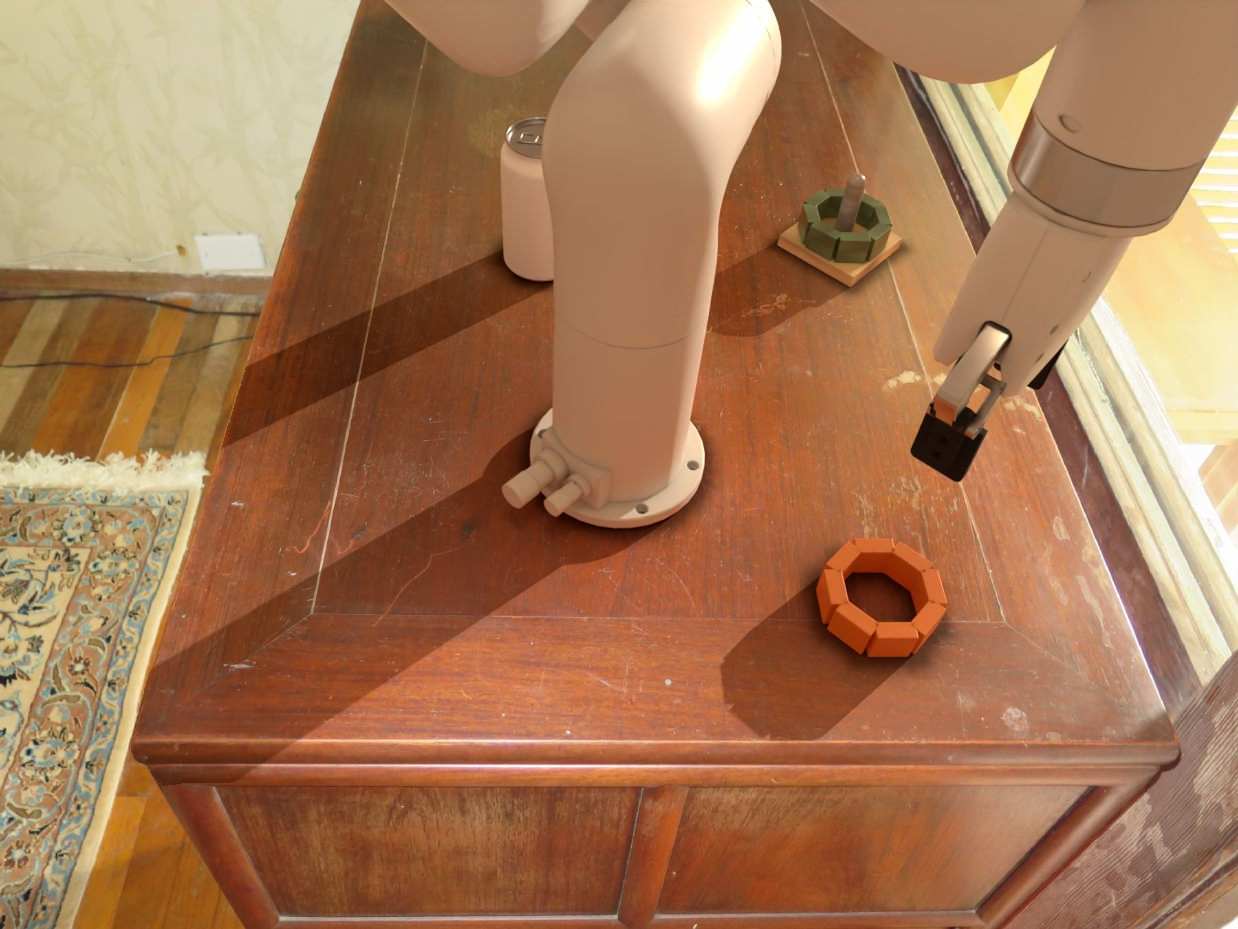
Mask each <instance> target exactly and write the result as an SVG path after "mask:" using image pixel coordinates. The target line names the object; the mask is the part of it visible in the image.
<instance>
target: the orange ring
mask: <svg viewBox="0 0 1238 929" xmlns="http://www.w3.org/2000/svg"><path fill="white" fill-rule="evenodd" d="M933 566H934V563H933V562H931V561H930V560H928V559H927V558H926V557H924V556H922V555H921V554H919V553H918V552H916V551H915V550H914V549H912V548H911V547H910V546H908V545H906V544H905V543H904V542H902V541H901V540H898V541H897V542H896V543H894V540H893V538H887V537H886V538H885V537H884V538H879V537H878V538H872V537H871V538H869V537H868V538H867V537H866V538H865V537H864V538H860V537H859V538H853V539H852V542H851V541H849V540H847V541H845V543H844V544H843V545H842V546H841V547H840V548H839V549H838V550H837V551H836V552H835V553H834V554H833V555H832V556H831V557H830V558H829V559H828V560H827V562H826V563H825V564H824V566H823V569H822V572H821V573H820V577H819V579H818V582H817V585H816V588H815V592H816V597H817V602H818V606H819V612H820V618H821V622H822V624H823V625H824V624H827V627H826V630H827V631H828V632H829V633H830V634H832V635H834V636H835V637H836V638H838V639H839V640H840V641H842V642H843V643H844V644H845V645H847V646H848V647H850V648H851V649H852V650H854V652H856V653H858V654H859V655H862V654H863V653H864V652H865V651H866V655H867V657H868V658H908V657H909V656H910V654H912V655H915V654H916V653H917V652H918V651H919V650H920V648H921V647H922V646H923V645H924V644H925V643H926V641H927V640H928V638H929V637H930V636H931V635H932V634H933V633H934V632H935V630H936V629H937V627H938V626H939V624H940V623H941V620H942V619H943V617H944V616H945V614H946V612H947V609H946V607H947V606H948V604H949V603H948V600H947V597H946V593H945V590H944V586H943V582H942V580H941V577H940V573H939V570H938V568H937V569H936V568H935V569H934V568H933V569H932V567H933ZM852 573H857V574H858V573H883V574H885V575H886V576H887V577H888V578H890V579H891V580H893V581H895V583H897V584H899V585H900V586H902V587H903V588H904V589H906V590H907V591H908V592H910V595H911V599H912V602H913V606H914V610H915V614H916V615H915V616H914V617H913V618H912V620H911V621H884V622H883V621H881V622H878V621H876V620H875V619H874V618H872V617H870V615H868V614H867V613H865V612H864V611H863V610H861V609H860V608H859V607H857V606H856V605H854V604H853V603H851V602H850V601H849V596H848V592H847V588H846V583H845V581H846V580H847V579H848V577H849V576H850V575H851V574H852Z"/></svg>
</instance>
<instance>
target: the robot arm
mask: <svg viewBox="0 0 1238 929" xmlns="http://www.w3.org/2000/svg"><path fill="white" fill-rule="evenodd" d="M383 1H384V2H385V3H386V4H387V5H389V7H391V8H392V9H393V10H394V12H396V13H397V14H398V15H400V16H401V17H402V18H403V20H405V21H406V22H407V23H408V24H409V25H411V27H413V28H414V29H415V30H416V31H417V32H418V33H419V34H421V35H422V36H423V37H424V38H425V39H426V41H428V42H430V43H431V44H432V45H433V46H434V47H435V48H436V49H437V50H439V51H440V52H441V53H442V54H444V55H445V56H446V57H447V58H449V59H451V61H453V62H454V63H455V64H457V65H458V66H460V67H462V68H463V69H466V70H467V71H469V72H471V73H473V74H476V75H480V76H483V77H484V76H485V77H491V78H494V77H495V78H496V77H507V76H511V75H513V74H515V73H518V72H520V71H523V70H525V69H527V68H528V67H530V66H532V65H533V64H534V63H535V62H537V61H538V60H540V59H541V58H542V56H544V55H545V54H546V53H547V52H549V50H550V49H551V48H552V47H553V46H554V45H555V44H556V43H557V42H558V41H559V40H561V38H562V37H563V36H564V35H565V34H566V33H567V32H568V31H569V29H570V28H571V27H572V26H575V27H576V28H577V29H578V30H580V32H582V34H584V35H585V36H586V37H587V38H588V39H589V40H590V41H591V42H592V44H591V45H590V46H589V47H588V49H587V50H586V51H585V53H583V55H582V56H581V57H580V58H579V59H578V61H577V62H576V64H575V65H574V66H573V68H572V69H571V70H570V72H569V73H568V75H567V76H566V77H565V79H564V81H563V82H562V84H561V86H560V87H559V89H558V91H557V93H556V95H555V97H554V99H553V101H552V103H551V106H550V108H549V111H548V113H547V116H546V118H547V120H546V123H545V127H544V132H543V138H542V148H541V156H542V170H543V176H544V182H545V187H546V192H547V197H548V202H549V207H550V214H551V220H552V230H553V250H554V280H553V284H552V285H553V286H552V288H553V293H552V294H553V343H552V344H553V345H552V346H553V347H552V348H553V349H552V352H553V353H552V406H551V407H550V408H549V409H548V411H546V413H545V414H544V415H543V416H542V417H541V418H540V419H539V421H538V422H537V424H536V426H535V428H534V430H533V431H532V432H533V433H532V436H531V439H530V445H529V463H530V466H529V467H528V468H526V469H524V470H521V471H520V472H519V473H518V474H516V475H515V476H514V477H513V478H510V479H509V480H508V481H507V482H505V483H504V484H503V485H502V486H501V492H502V495H503V497H504V498H505V500H506V502H508V504H510V505H511V506H512V507H513V508H515V509H522V508H523V507H524V506H525V505H527V504H528V503H529V502H531V501H532V500H533V499H534V498H536V497H537V496H538V495H540V493H542V495H543V496H544V497H545V499H544V500H543V506H544V508H545V510H546V511H547V512H548V513H549V514H550V515H551V516H553V517H556V518H557V517H559V516H560V515H561V514H563V513H564V514H566V515H567V516H570V517H572V518H574V519H576V520H578V521H580V522H584V523H587V524H589V525H594V526H596V527H604V528H611V529H633V528H638V527H645V526H649V525H653V524H655V523H658V522H661V521H663V520H665V519H667V518H669V517H671V516H672V515H674V514H676V513H677V512H679V511H680V510H681V509H683V507H684V506H686V505H688V503H689V502H690V501H691V499H692V498H693V496H694V495H695V494H696V492H697V491H698V488H699V486H700V485H701V484H700V483H701V482H702V478H703V474H704V469H705V459H706V458H705V456H706V455H705V454H706V453H705V448H704V442H703V440H702V436H700V433H699V431H698V428H696V426H695V424H694V423H693V422H692V421H691V416H692V411H693V405H694V401H695V395H696V389H697V383H698V377H699V372H700V367H701V360H702V356H703V351H704V350H703V349H704V343H705V339H706V333H707V329H708V328H707V327H708V321H709V314H710V309H711V301H712V295H713V289H714V285H715V284H714V283H715V278H716V271H717V270H716V269H717V262H718V252H719V251H718V250H719V248H718V247H719V222H720V214H721V208H722V204H723V199H724V196H725V192H726V189H727V186H728V182H729V179H730V176H731V174H732V171H733V169H734V167H735V164H736V162H737V160H738V158H739V157H740V155H741V152H742V150H743V149H744V147H745V145H746V143H747V141H748V140H749V138H750V135H751V134H752V130H753V128H754V126H755V124H756V122H757V120H758V118H759V117H760V115H761V113H762V111H763V109H764V107H765V105H766V104H767V102H768V101H769V99H770V96H771V94H772V92H773V89H774V87H775V85H776V82H777V79H778V75H779V73H780V68H781V62H782V47H783V46H782V36H781V32H780V27H779V23H778V19H777V17H776V15H775V12H774V10H773V7H772V5H771V4H770V2H769V0H383ZM809 2H811V3H812V4H813V5H814V6H816V8H818V9H820V10H821V11H822V12H824V13H825V14H826V15H827V16H829V17H830V18H831V19H832V20H834V21H835V22H836V23H838V24H839V25H840V26H842V27H843V28H844V29H846V30H847V31H848V32H849V33H851V34H852V35H854V36H855V37H856V38H858V39H859V40H860V41H862V42H863V43H864V44H865V45H867V46H868V47H869V48H871V49H873V50H874V51H876V52H877V53H879V54H880V55H882V56H883V57H885V58H887V59H888V60H890V61H891V62H893V63H895V64H897V65H898V66H900V67H902V68H904V69H906V70H909V71H910V72H913V73H915V74H918V75H920V76H922V77H925V78H928V79H931V80H936V81H938V82H943V83H948V84H954V85H956V84H957V85H978V84H984V83H992V82H997V81H1000V80H1003V79H1005V78H1008V77H1011V76H1015V75H1017V74H1018V73H1020V72H1022V71H1024V70H1025V69H1027V68H1030V67H1031V66H1033V65H1034V64H1035V63H1037V62H1038V61H1040V60H1041V59H1042V58H1043V57H1044V56H1046V55H1047V54H1048V53H1049V52H1050V51H1052V50H1053V49H1054V50H1053V52H1052V56H1051V57H1050V60H1049V63H1048V65H1047V68H1046V70H1045V73H1044V74H1043V78H1042V80H1041V83H1040V85H1039V88H1038V90H1037V93H1036V96H1035V98H1034V100H1033V102H1032V104H1031V107H1030V109H1029V112H1028V114H1027V116H1026V119H1025V122H1024V124H1023V127H1022V128H1021V131H1020V134H1019V137H1018V138H1017V141H1016V144H1015V146H1014V149H1013V151H1012V155H1011V157H1010V159H1009V162H1008V165H1007V168H1006V169H1007V170H1006V176H1007V180H1008V183H1009V185H1010V186H1011V188H1012V192H1011V193H1010V195H1009V197H1008V198H1007V200H1006V202H1005V203H1004V204H1003V207H1002V208H1001V209H1000V211H999V213H998V215H997V217H996V218H995V220H994V222H993V223H992V225H991V227H990V229H989V230H988V231H989V232H988V233H987V234H986V236H985V238H984V240H983V242H982V244H981V245H980V248H979V250H978V252H977V254H976V256H975V258H974V260H973V262H972V264H971V266H970V268H969V270H968V272H967V274H966V277H965V279H964V280H963V283H962V285H961V287H960V289H959V291H958V293H957V296H956V297H955V300H954V302H953V303H952V304H953V305H952V307H951V309H950V311H949V313H948V314H947V317H946V319H945V322H944V324H943V326H942V328H941V331H940V332H939V335H938V337H937V340H936V341H935V343H934V346H933V349H932V354H933V355H932V356H933V358H934V361H935V362H937V363H941V364H942V365H944V366H945V367H946V368H947V367H949V366H951V365H952V364H953V363H954V365H953V366H952V368H951V369H950V371H949V372H948V374H947V376H946V377H945V379H944V381H943V382H942V383H941V386H939V388H938V390H937V391H936V393H935V395H934V397H933V398H932V399H931V401H930V403H929V404H928V406H927V409H926V411H925V414H924V416H923V419H922V421H921V423H920V426H919V427H918V430H917V432H916V434H915V437H914V440H913V442H912V445H911V447H910V449H909V450H910V451H909V452H910V454H911V456H912V457H913V458H915V459H916V460H918V461H920V462H922V463H923V464H924V465H926V466H928V467H930V468H931V469H933V470H935V471H936V472H938V473H939V474H941V475H942V476H944V477H946V478H947V479H949V480H951V481H952V482H955V483H960V482H962V480H963V479H964V478H965V477H966V476H967V474H968V472H969V470H970V468H971V466H972V464H973V462H974V460H975V458H976V456H977V454H978V452H979V450H980V448H981V447H982V444H983V442H984V440H985V438H986V436H987V434H988V432H989V430H988V429H986V428H985V427H984V426H985V425H986V424H987V422H988V420H989V419H990V417H991V416H992V414H993V413H994V412H995V409H996V408H997V406H999V404H1000V402H1001V400H1002V399H1005V398H1011V397H1015V396H1016V397H1017V396H1018V395H1020V394H1021V393H1022V392H1023V391H1024V390H1025V389H1026V387H1028V388H1030V389H1031V390H1035V391H1036V390H1037V391H1038V390H1041V389H1042V388H1043V386H1045V384H1046V383H1047V381H1048V379H1049V378H1050V375H1051V373H1052V371H1053V370H1054V368H1055V366H1056V364H1057V362H1058V361H1059V358H1060V357H1061V355H1062V353H1063V351H1064V350H1065V348H1066V346H1067V344H1068V342H1069V340H1070V338H1071V336H1073V334H1074V333H1075V332H1076V331H1077V329H1078V328H1079V327H1080V326H1081V325H1082V323H1083V322H1084V321H1085V319H1086V318H1087V317H1088V315H1089V314H1090V312H1091V311H1092V309H1093V308H1094V306H1095V305H1096V303H1097V302H1098V300H1099V299H1100V297H1101V295H1102V294H1103V292H1104V291H1105V289H1106V287H1107V285H1108V284H1109V282H1110V281H1111V279H1112V277H1113V275H1114V274H1115V272H1116V271H1117V268H1118V267H1119V265H1120V263H1121V262H1122V259H1123V258H1124V255H1125V254H1126V252H1127V250H1128V249H1129V246H1130V244H1131V243H1132V241H1133V239H1134V238H1137V237H1144V236H1148V235H1150V234H1153V233H1157V232H1159V231H1161V230H1163V229H1164V228H1166V227H1167V226H1168V225H1169V224H1170V223H1171V222H1172V220H1173V219H1174V217H1175V215H1176V214H1177V212H1178V211H1179V208H1180V207H1181V206H1182V204H1183V202H1184V200H1185V198H1186V196H1187V194H1188V193H1189V191H1190V189H1191V188H1192V186H1193V184H1194V182H1195V180H1196V179H1197V177H1198V175H1199V173H1200V172H1201V170H1202V168H1203V166H1204V165H1205V163H1206V161H1207V160H1208V158H1209V156H1210V154H1211V153H1212V152H1213V149H1214V147H1215V146H1216V144H1217V142H1218V140H1219V139H1220V137H1221V135H1222V134H1223V132H1224V130H1225V128H1226V127H1227V125H1228V123H1229V121H1230V120H1231V118H1232V116H1233V114H1234V112H1235V111H1236V109H1237V107H1238V0H809ZM992 368H994V369H995V370H997V371H998V372H1000V380H999V379H998V378H995V376H992V375H990V374H989V372H990V371H991V369H992ZM980 385H981V386H983V387H984V388H986V389H988V390H990V391H989V392H988V394H987V395H986V397H985V398H984V400H983V401H982V404H980V406H979V407H978V409H977V410H976V412H975V411H974V410H973V409H972V408H971V407H969V406H968V405H969V403H970V400H971V398H972V396H973V394H974V393H975V391H976V390H977V388H978V387H979V386H980Z"/></svg>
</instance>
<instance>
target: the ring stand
mask: <svg viewBox="0 0 1238 929" xmlns="http://www.w3.org/2000/svg"><path fill="white" fill-rule="evenodd" d="M866 186H867V178H866V177H865V175H864V174H862V173H861V172H854V173H852V174H851V175H850V176H848V179H847V181H846V184H845V187H844V188H837V187H836V188H835V187H834V188H833V187H831V188H830V187H825V188H824V190H823V189H820V190H818V191H816V192H815V193H813V194H812V195H810V196H809V197H808V198H807V199H805V200H804V201H803V204H802V206H801V211H800V215H799V219H798V221H796V222H795V223H794V224H792V225H791V226H790V227H788V228H787V229H786V230H784V231H783V232H782V233H780V234H779V237H778V240H777V244H776V245H777V246H778V247H780V248H781V249H783V250H785V251H786V252H788V253H790V254H791V255H793V256H795V257H797V258H798V259H800V260H802V261H803V262H805V263H807V264H808V265H810V266H812V267H814V268H816V269H818V271H821V272H823V273H824V274H826V275H828V276H830V277H831V278H833V279H835V280H837V281H838V282H840V283H842V284H843V285H845V286H847V287H849V288H851V287H853V286H854V285H855V284H857V282H859V281H860V280H861V279H862V278H864V277H865V276H866V275H867V274H869V273H871V271H872V270H874V269H875V268H876V267H877V266H879V265H880V264H881V263H883V261H885V260H886V259H887V258H889V257H890V256H891V255H893V254H894V253H895V252H896V251H897V250H899V248H900V247H901V246H900V245H901V243H902V240H903V237H901V236H900V235H898V234H896V233H894V232H892V228H893V225H894V224H893V221H892V218H891V215H890V212H889V209H888V208H887V206H886V205H885V206H884V202H882V201H880V200H879V199H877V198H874V197H873V196H871V195H869V194H867V193H865V189H866Z"/></svg>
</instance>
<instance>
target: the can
mask: <svg viewBox="0 0 1238 929" xmlns="http://www.w3.org/2000/svg"><path fill="white" fill-rule="evenodd" d="M546 120H547V117H544V116H543V117H541V116H539V117H538V116H536V117H528V118H524V119H520V120H518V121H516V122H514V123H513V124H511V125H510V126H509V127H508V128H507V130H506V131H505V135H504V140H505V141H504V142H503V144H502V146H501V149H500V156H499V157H500V160H499V161H500V163H499V164H500V192H501V193H500V194H501V195H500V196H501V226H502V250H503V260H504V263H505V266H507V268H508V269H510V271H512V272H513V273H514V274H515V275H517V276H518V277H520V278H522V279H525V280H527V281H531V282H539V283H541V282H543V283H544V282H552V281H553V282H554V250H553V230H552V220H551V214H550V207H549V202H548V197H547V192H546V187H545V182H544V176H543V170H542V156H541V148H542V138H543V132H544V127H545V123H546Z"/></svg>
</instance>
